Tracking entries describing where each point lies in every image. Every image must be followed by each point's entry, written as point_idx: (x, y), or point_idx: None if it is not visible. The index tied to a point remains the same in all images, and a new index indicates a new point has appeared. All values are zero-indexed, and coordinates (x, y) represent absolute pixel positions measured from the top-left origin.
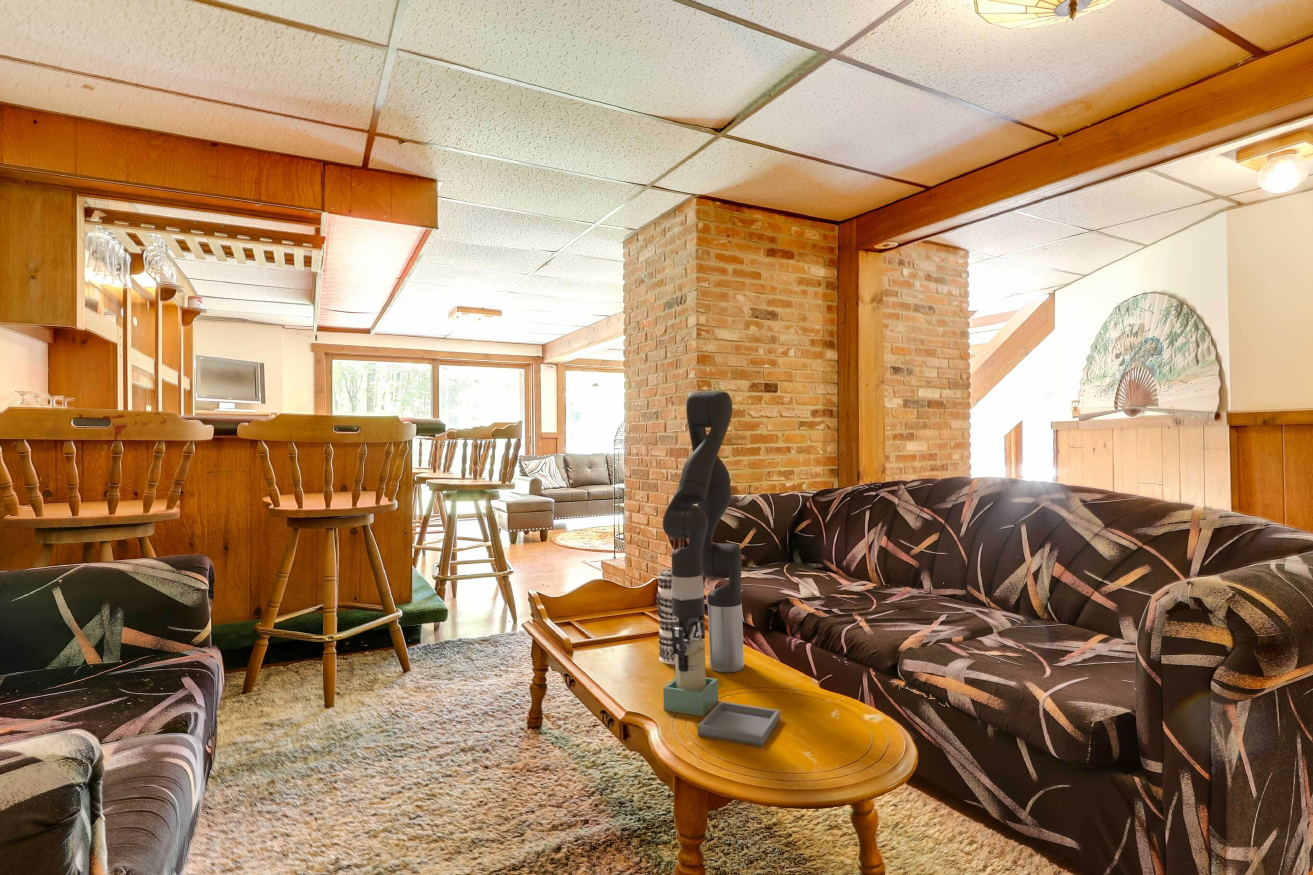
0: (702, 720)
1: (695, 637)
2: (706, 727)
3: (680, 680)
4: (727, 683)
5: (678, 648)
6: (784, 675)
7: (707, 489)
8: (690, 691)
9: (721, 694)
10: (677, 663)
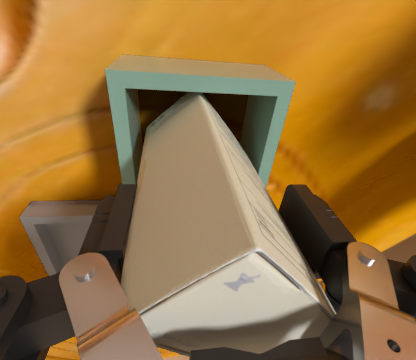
0: (55, 216)
1: (327, 326)
2: (28, 233)
3: (144, 153)
4: (353, 162)
5: (69, 308)
6: (385, 239)
7: None
8: (125, 183)
9: (280, 171)
10: (172, 165)
